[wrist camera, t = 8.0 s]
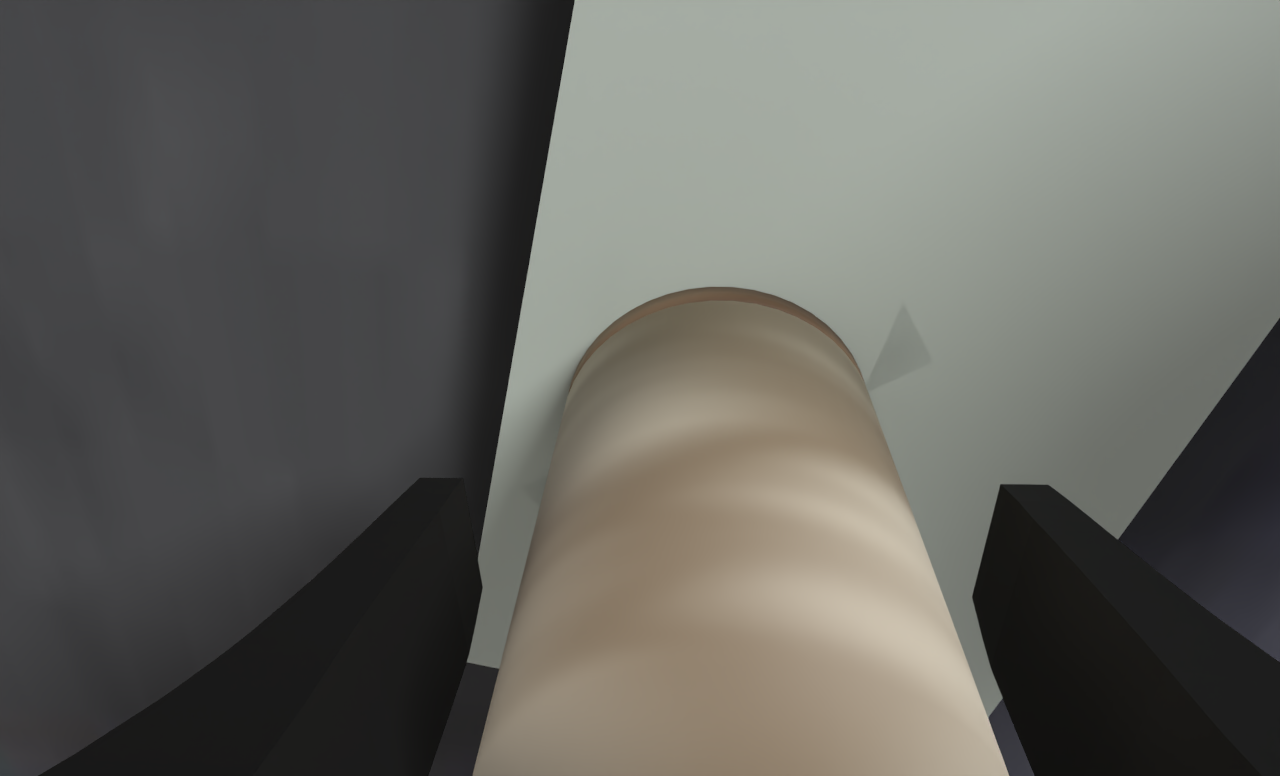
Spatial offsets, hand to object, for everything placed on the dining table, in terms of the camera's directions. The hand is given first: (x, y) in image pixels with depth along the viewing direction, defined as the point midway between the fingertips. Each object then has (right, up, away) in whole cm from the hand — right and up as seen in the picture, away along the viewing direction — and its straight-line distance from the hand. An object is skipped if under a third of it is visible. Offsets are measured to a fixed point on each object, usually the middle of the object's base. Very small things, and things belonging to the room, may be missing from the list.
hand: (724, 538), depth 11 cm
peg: (0, +2, +4) cm, 5 cm away
